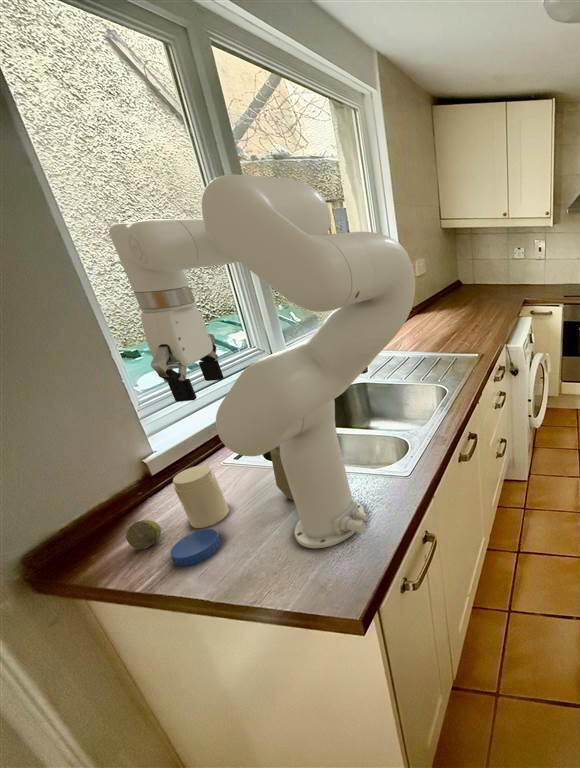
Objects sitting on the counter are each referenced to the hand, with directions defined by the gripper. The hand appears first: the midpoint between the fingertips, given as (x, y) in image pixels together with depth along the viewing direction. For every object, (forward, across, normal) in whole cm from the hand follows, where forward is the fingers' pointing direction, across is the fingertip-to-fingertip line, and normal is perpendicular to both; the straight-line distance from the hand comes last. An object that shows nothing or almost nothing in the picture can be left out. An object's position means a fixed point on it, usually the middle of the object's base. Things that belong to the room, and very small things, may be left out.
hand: (201, 389), depth 74 cm
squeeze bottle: (+26, 0, +12) cm, 29 cm away
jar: (+26, +4, -5) cm, 27 cm away
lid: (+25, +14, -2) cm, 28 cm away
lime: (+26, +10, -13) cm, 31 cm away
